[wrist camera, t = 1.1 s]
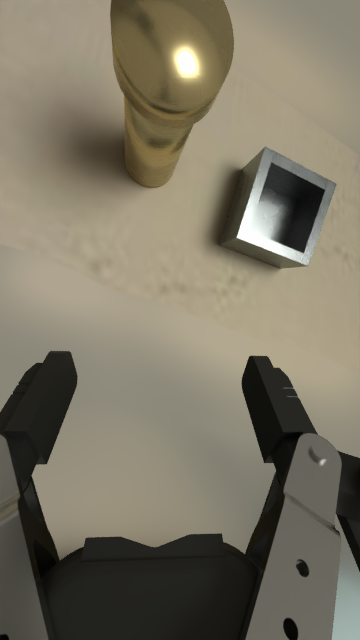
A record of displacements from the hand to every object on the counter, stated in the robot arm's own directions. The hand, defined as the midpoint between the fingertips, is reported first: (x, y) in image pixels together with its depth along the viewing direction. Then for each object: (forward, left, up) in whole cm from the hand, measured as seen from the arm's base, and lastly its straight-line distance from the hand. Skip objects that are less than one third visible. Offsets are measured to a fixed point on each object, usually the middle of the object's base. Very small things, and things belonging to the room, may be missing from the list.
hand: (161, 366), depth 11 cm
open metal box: (+11, +15, -16) cm, 24 cm away
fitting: (-3, +16, -16) cm, 23 cm away
